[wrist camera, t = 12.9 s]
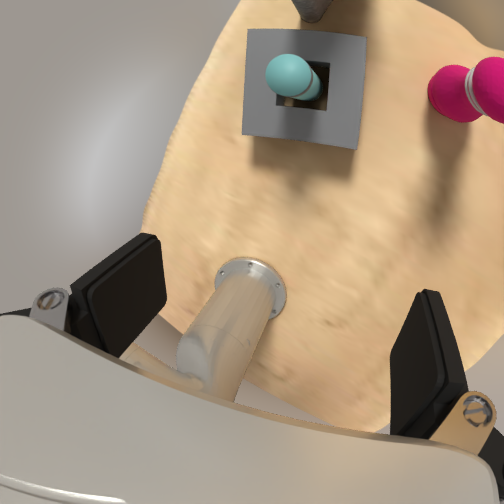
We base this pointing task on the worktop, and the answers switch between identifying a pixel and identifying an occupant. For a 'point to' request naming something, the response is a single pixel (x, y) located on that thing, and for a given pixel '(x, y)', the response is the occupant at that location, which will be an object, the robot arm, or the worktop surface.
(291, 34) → the socket block
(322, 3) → the flask
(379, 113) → the worktop surface
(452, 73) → the pepper mill
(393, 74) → the worktop surface
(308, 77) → the peg
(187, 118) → the worktop surface
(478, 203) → the worktop surface
